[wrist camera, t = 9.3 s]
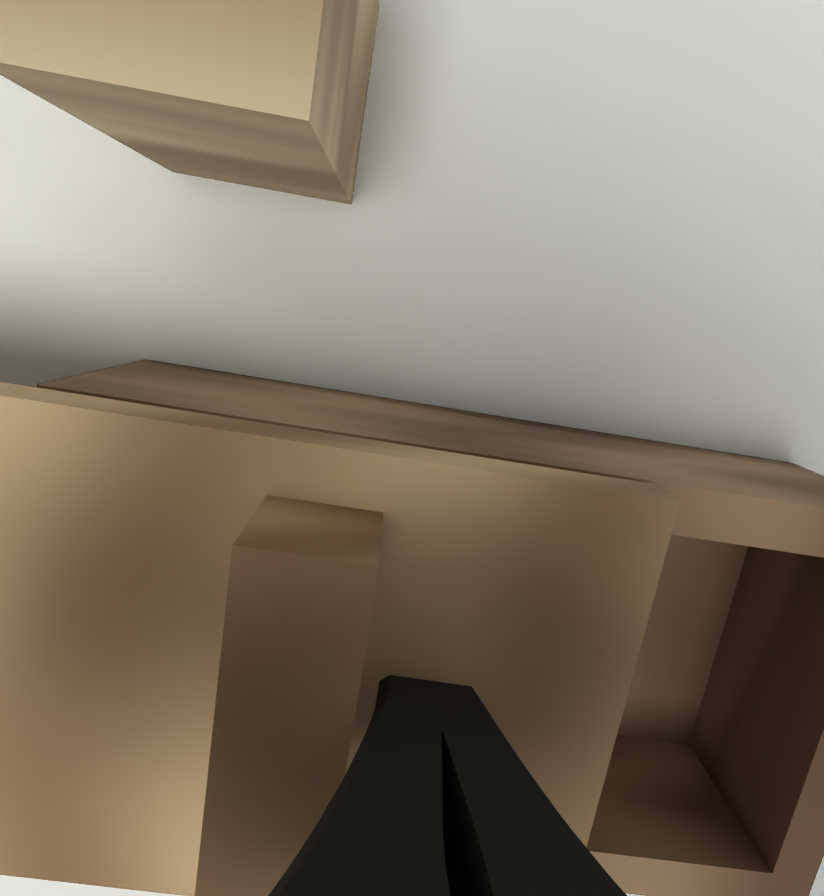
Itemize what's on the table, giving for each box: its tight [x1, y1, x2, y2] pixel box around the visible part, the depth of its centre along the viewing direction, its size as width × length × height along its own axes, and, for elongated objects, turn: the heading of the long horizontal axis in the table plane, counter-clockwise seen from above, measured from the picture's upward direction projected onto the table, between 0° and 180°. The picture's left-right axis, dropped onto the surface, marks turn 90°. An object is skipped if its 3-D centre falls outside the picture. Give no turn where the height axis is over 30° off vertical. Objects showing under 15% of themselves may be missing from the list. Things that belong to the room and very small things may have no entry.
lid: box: [0, 382, 680, 896], centre depth 9 cm, size 15×8×3 cm, turn 81°
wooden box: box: [37, 360, 824, 896], centre depth 12 cm, size 14×8×4 cm, turn 81°
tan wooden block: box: [0, 0, 379, 204], centre depth 9 cm, size 4×4×6 cm
